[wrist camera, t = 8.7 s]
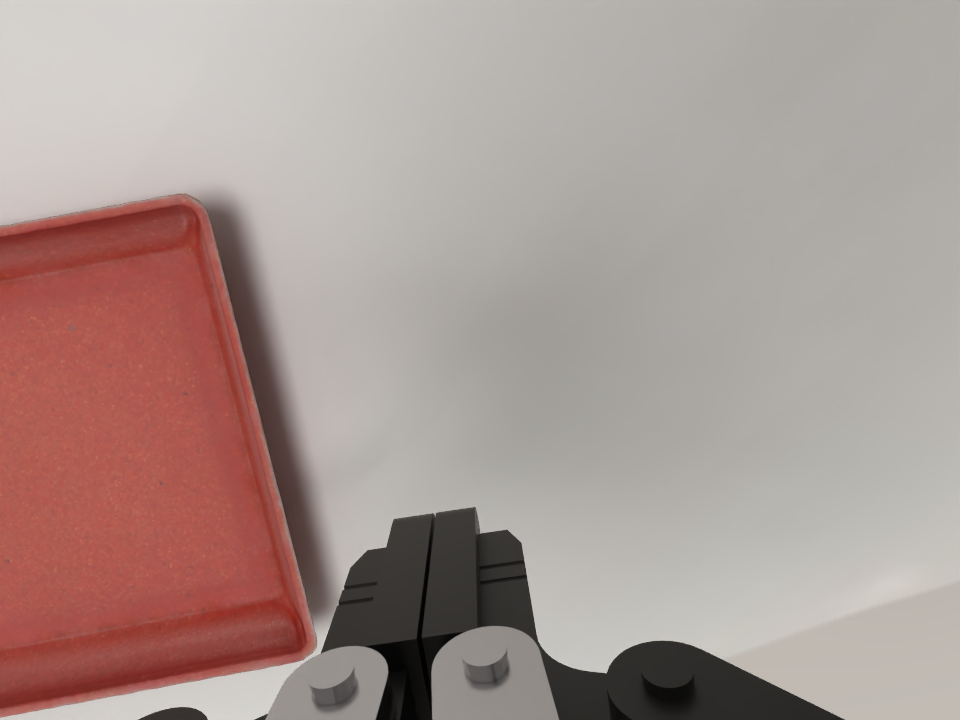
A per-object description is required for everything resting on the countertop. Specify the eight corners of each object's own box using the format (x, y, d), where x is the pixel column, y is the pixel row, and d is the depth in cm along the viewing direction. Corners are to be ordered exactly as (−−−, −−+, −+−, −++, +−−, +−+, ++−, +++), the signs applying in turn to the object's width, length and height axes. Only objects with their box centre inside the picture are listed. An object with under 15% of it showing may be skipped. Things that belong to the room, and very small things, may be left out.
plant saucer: (234, 195, 24) (198, 186, 20) (337, 612, 27) (320, 662, 24) (-226, 279, 24) (-336, 285, 20) (-66, 685, 27) (-138, 745, 24)
